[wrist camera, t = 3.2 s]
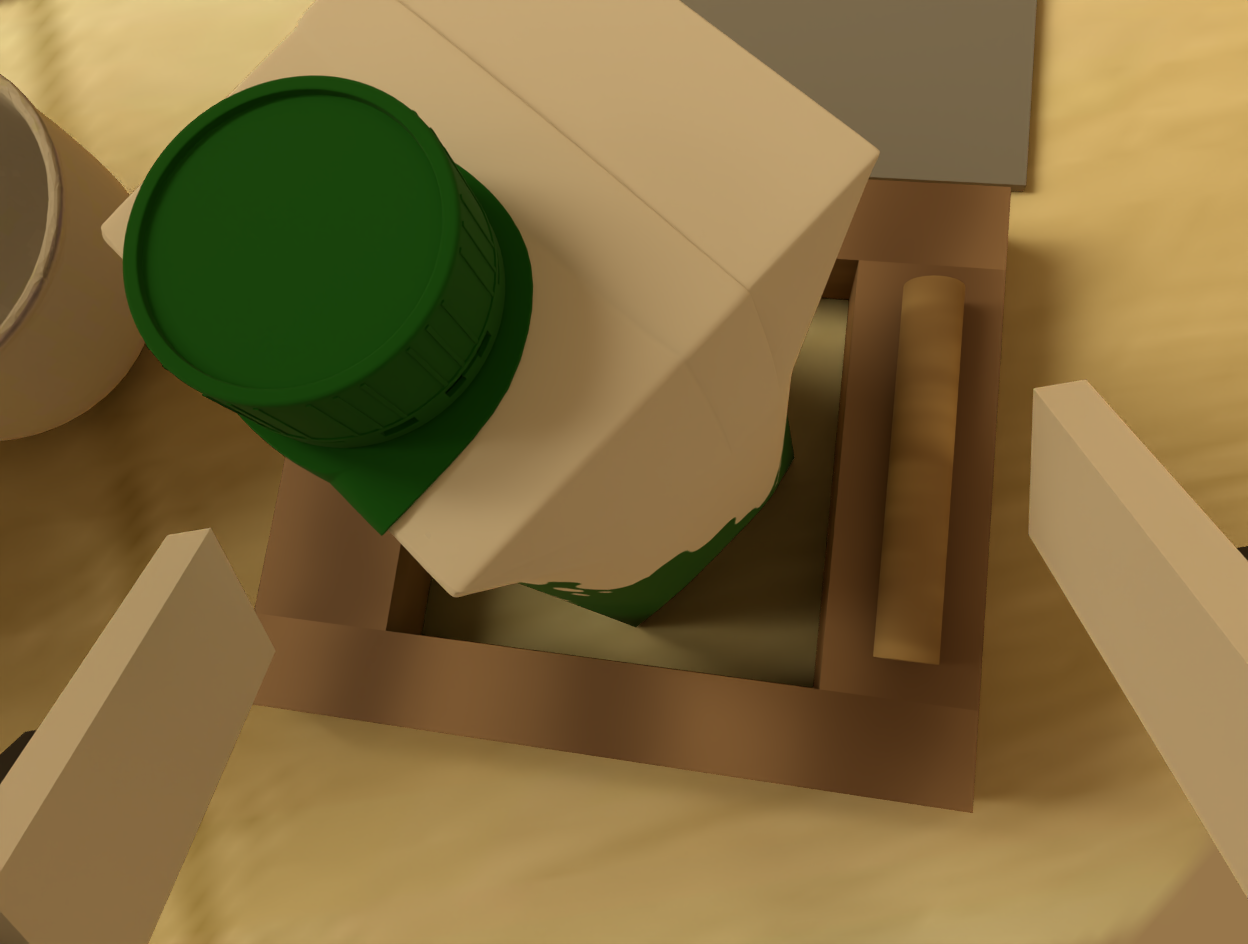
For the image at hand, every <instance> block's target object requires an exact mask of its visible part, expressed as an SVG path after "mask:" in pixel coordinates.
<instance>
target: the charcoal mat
mask: <svg viewBox="0 0 1248 944" xmlns="http://www.w3.org/2000/svg"><path fill="white" fill-rule="evenodd" d="M680 1H681V2H682V3H684V4H685V5H686V6H688V7H689V8H690V9H692V10H693V11H694V12H696V13H697V14H698V15H700V16H701V17H702V18H704V19H705V20H706V21H708V22H709V23H711V24H712V25H713V26H715V27H716V28H717V29H719V30H720V31H721V32H723V33H724V34H725V35H727V36H728V37H729V38H731V39H732V40H733V41H735V42H736V43H737V44H739V45H740V46H741V47H743V48H744V49H745V50H747V51H748V52H749V53H751V54H752V55H753V56H755V57H756V58H757V59H759V60H760V61H761V62H763V63H764V64H765V65H767V66H768V67H769V68H771V69H772V70H773V71H775V72H776V73H777V74H779V75H780V76H781V77H783V78H784V79H785V80H787V81H788V82H789V83H791V84H792V85H793V86H795V87H796V88H797V89H799V90H800V91H801V92H803V93H804V94H805V95H807V96H808V97H809V98H811V99H812V100H813V101H815V102H816V103H817V104H819V105H820V106H821V107H823V108H824V109H825V110H827V111H828V112H829V113H831V114H832V115H833V116H835V117H836V118H837V119H839V120H840V121H842V122H843V123H844V124H846V125H847V126H848V127H850V128H851V129H852V130H854V131H855V132H856V133H858V134H859V135H860V136H861V137H863V138H864V139H865V140H867V141H868V142H869V143H871V144H872V145H873V146H875V147H876V148H877V149H878V150H879V151H880V154H879V157H878V159H877V161H876V163H875V165H874V167H873V169H872V171H871V174H870V176H869V180H888V181H907V182H925V183H944V184H963V185H981V186H1000V187H1011V191H1022V192H1023V190H1024V188H1025V186H1026V178H1027V161H1028V144H1029V127H1030V110H1031V93H1032V75H1033V58H1034V41H1035V24H1036V7H1037V0H680Z"/></svg>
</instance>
